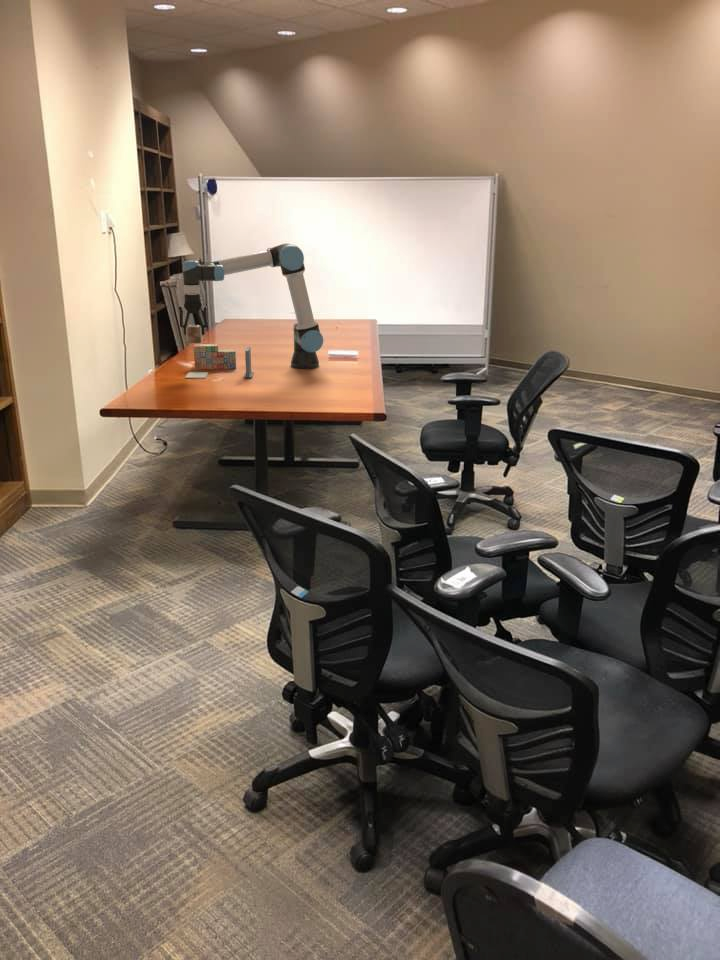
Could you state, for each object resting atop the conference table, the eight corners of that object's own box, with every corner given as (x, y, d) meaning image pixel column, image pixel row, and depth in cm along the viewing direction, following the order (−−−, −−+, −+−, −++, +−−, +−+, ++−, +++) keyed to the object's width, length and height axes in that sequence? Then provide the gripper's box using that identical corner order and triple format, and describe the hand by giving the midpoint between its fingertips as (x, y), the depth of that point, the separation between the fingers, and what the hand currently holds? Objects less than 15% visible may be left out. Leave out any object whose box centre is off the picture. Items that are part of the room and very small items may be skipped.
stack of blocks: (236, 366, 407) (235, 343, 403) (236, 369, 401) (235, 345, 397) (195, 367, 405) (194, 343, 401) (194, 369, 399) (193, 346, 395)
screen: (253, 373, 392) (252, 346, 387) (251, 378, 380) (250, 350, 375) (245, 373, 391) (244, 346, 386) (243, 378, 380) (242, 350, 375)
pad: (208, 373, 390) (208, 372, 390) (205, 378, 379) (205, 377, 379) (188, 373, 390) (188, 372, 389) (184, 378, 378) (184, 377, 378)
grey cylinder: (201, 340, 381) (200, 324, 379) (200, 343, 376) (199, 326, 373) (189, 340, 381) (188, 324, 378) (187, 343, 375) (186, 326, 373)
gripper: (212, 293, 374) (215, 340, 382) (173, 292, 373) (176, 339, 381) (210, 294, 367) (213, 342, 375) (170, 294, 366) (174, 342, 374)
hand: (194, 341), depth 378 cm, fingers closed on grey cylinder, 6 cm apart
